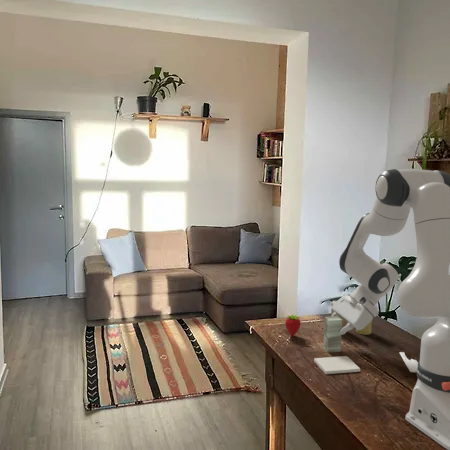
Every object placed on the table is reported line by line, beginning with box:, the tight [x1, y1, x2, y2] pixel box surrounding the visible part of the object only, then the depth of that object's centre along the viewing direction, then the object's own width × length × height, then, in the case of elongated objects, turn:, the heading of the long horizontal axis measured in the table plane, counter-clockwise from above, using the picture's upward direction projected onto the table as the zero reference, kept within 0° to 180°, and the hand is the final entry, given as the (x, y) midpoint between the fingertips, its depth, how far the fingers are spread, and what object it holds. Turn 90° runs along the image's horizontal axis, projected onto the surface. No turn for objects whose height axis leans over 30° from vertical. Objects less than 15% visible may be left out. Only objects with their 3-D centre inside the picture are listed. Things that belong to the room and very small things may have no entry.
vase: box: [355, 321, 373, 336], centre depth 183 cm, size 6×6×14 cm
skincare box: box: [330, 300, 348, 327], centre depth 183 cm, size 6×4×12 cm
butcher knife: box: [399, 351, 419, 373], centre depth 156 cm, size 5×15×1 cm, turn 171°
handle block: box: [322, 316, 343, 354], centre depth 165 cm, size 4×5×12 cm
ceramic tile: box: [313, 355, 361, 375], centre depth 152 cm, size 10×12×1 cm
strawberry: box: [285, 313, 302, 338], centre depth 178 cm, size 6×8×10 cm
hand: (335, 328), depth 165 cm, fingers open, 8 cm apart
